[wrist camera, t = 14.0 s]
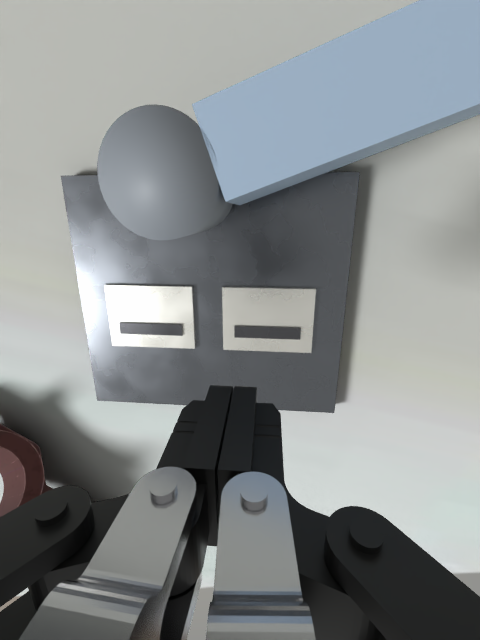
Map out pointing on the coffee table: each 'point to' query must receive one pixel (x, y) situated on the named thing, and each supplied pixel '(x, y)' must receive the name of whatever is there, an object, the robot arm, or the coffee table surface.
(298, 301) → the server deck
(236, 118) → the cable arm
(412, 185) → the coffee table surface
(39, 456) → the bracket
